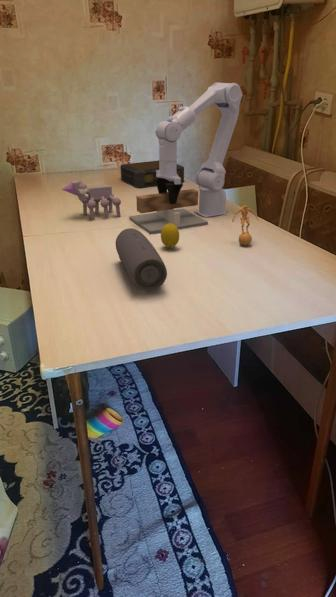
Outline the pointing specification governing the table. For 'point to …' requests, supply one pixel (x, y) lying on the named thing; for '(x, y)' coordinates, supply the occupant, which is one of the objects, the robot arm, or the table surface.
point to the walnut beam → (166, 201)
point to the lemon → (170, 235)
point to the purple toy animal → (94, 197)
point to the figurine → (245, 236)
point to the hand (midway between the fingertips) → (167, 201)
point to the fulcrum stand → (167, 220)
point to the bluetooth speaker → (140, 260)
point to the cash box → (144, 173)
